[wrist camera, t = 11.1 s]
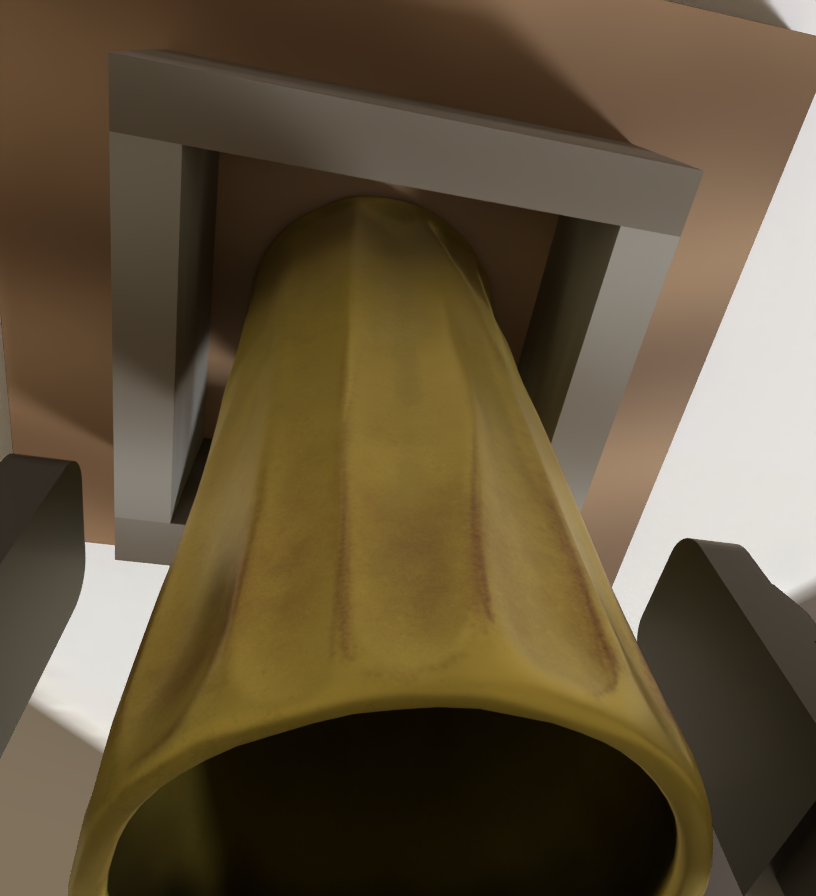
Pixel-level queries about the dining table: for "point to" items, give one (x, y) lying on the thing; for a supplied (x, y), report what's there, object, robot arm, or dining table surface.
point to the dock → (375, 175)
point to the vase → (387, 620)
